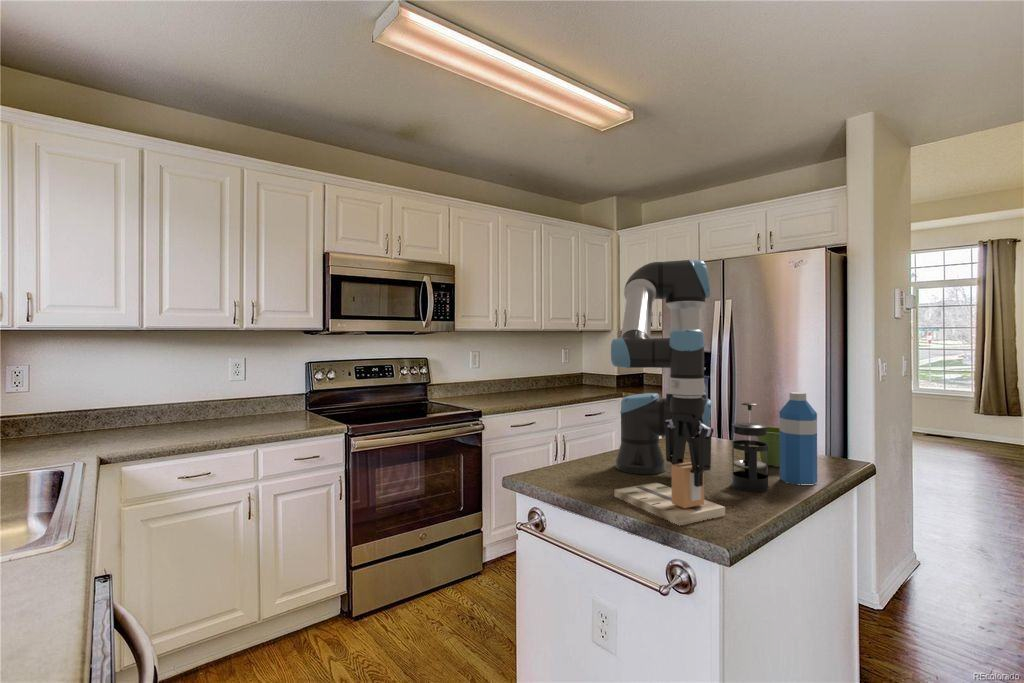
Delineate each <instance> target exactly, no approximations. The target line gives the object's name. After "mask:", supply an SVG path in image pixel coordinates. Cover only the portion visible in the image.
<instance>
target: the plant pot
mask: <svg viewBox="0 0 1024 683" xmlns="http://www.w3.org/2000/svg"><path fill="white" fill-rule="evenodd" d="M756 438H757V441H760V442H764V443H767V444H768V467H769V466H771V467H774V468H780V428H779V427H778V426H768V428H767V429H766V435H763V436H756ZM759 457H760V462H763V463H765V464H766V451H760V452H759Z"/></svg>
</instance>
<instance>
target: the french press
mask: <svg viewBox="0 0 1024 683" xmlns="http://www.w3.org/2000/svg"><path fill="white" fill-rule="evenodd" d="M741 405H742V406H747V411H748V422H735V423H732V424H731V426H732V427H733V433H734V434H736V435H740V436H748V439H737V440H733V441H731V449H732V451H731V454H732V455H731V461H732V462H731V463H732V464H731V470H732V472H731V473H732V476H731V477H732V481H731V487H732V488H734V489H737V490H739V491H745V492H751V493H763V492H768V491H769V490H770V486H769V466H768V444H767V443H764V442H760V441H758V440H751V439H752V438H751V437H757V436H763V435H766V429H767V428H768V427H769V426H768V425H766V424H761V423H755V422H751V411H752V406H753V407H754V406H759V404H758V403H756V402H742V403H741ZM734 449H735V450H739V451H744V458H743V459H739V460H737V459H736V460H735V459H734V457H735V456H734V455H735V454H734ZM760 451H766V464H765V463H763V462H761V461H758V452H759V453H760ZM734 467H737V468H740V469H744V470H736V471H735V470H734ZM765 469H766V474H765V473H763V472H758V470H765Z"/></svg>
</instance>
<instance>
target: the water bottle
mask: <svg viewBox="0 0 1024 683" xmlns="http://www.w3.org/2000/svg"><path fill="white" fill-rule="evenodd" d="M811 405H812V404H810V403H809V402H808V400H807V393H805V392H798V391H797V392H793V391H791V392H789V400H788V401H787V402H786V403H785V405H784V406H783V407H782V408H781V409H780V411H779V419H778V420H779V424H778V425H779V428H780V467H779V480H780V479H781V480H783V481H785V482H788V483H793V484H792V485H794V484H800V485H801V484H814V483H816V482H817V483H818V413H817V412H816V410H815V409H814V408H813V407H812V406H811ZM781 480H780V481H781ZM783 481H782V482H783ZM785 482H784V483H785ZM788 483H787V484H788Z"/></svg>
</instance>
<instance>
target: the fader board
mask: <svg viewBox="0 0 1024 683" xmlns="http://www.w3.org/2000/svg"><path fill="white" fill-rule="evenodd" d="M613 493H614V494H613V496H615V497H618V498H620V499H622V500H624V501H627V502H629V503H631V504H633V505H636V506H637V507H636V508H638V507H640V508H642V509H644V510H646V511H645V512H647V511H648V512H647V513H649V512H651V513H653V514H655V515H654V516H656V515H657V516H656V517H658V516H659V517H658V518H660V517H661V518H660V519H662V518H664V519H663V520H665V519H666V520H665V521H667V520H668V521H667V522H669V521H670V523H672V522H673V523H672V524H674V523H675V524H674V525H676V524H677V525H676V526H678V525H679V526H678V527H680V525H681V526H685V525H689V524H694V522H695V523H699V522H703V520H704V521H708V520H713V519H717V518H722V517H726V506H723V505H721V504H717V503H715V502H712V501H709V500H706V499H704V504H703V505H698V506H693V507H688V508H682V507H680V506H677V505H675V504H672V486H671V487H670V486H668V485H665V484H662V483H659V482H651V483H645V484H639V485H633V486H632V485H631V486H626V487H621V488H615V489H614V490H613ZM615 497H614V498H615ZM620 499H619V500H620ZM622 500H621V501H622ZM624 501H623V502H624ZM629 503H628V504H629ZM631 504H630V505H631ZM633 505H632V506H633ZM640 508H639V509H640ZM642 509H641V510H642ZM644 510H643V511H644ZM651 513H650V514H651ZM653 514H652V515H653ZM712 518H713V519H712ZM707 519H708V520H707Z"/></svg>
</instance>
